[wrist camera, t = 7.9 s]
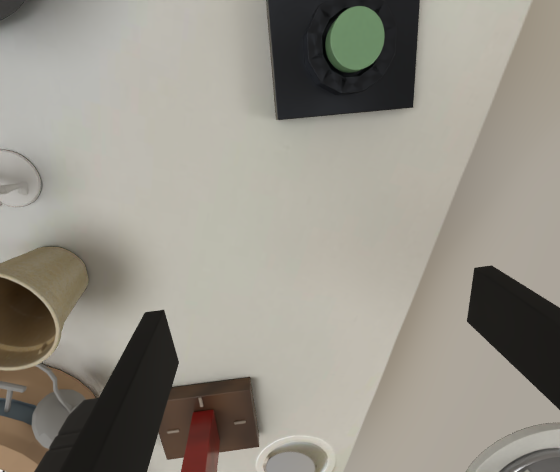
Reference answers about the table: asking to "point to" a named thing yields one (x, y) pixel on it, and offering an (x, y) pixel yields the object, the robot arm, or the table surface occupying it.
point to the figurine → (17, 180)
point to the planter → (9, 7)
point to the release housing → (322, 74)
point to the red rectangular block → (202, 444)
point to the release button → (355, 39)
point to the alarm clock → (34, 413)
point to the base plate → (227, 409)
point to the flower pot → (37, 303)
